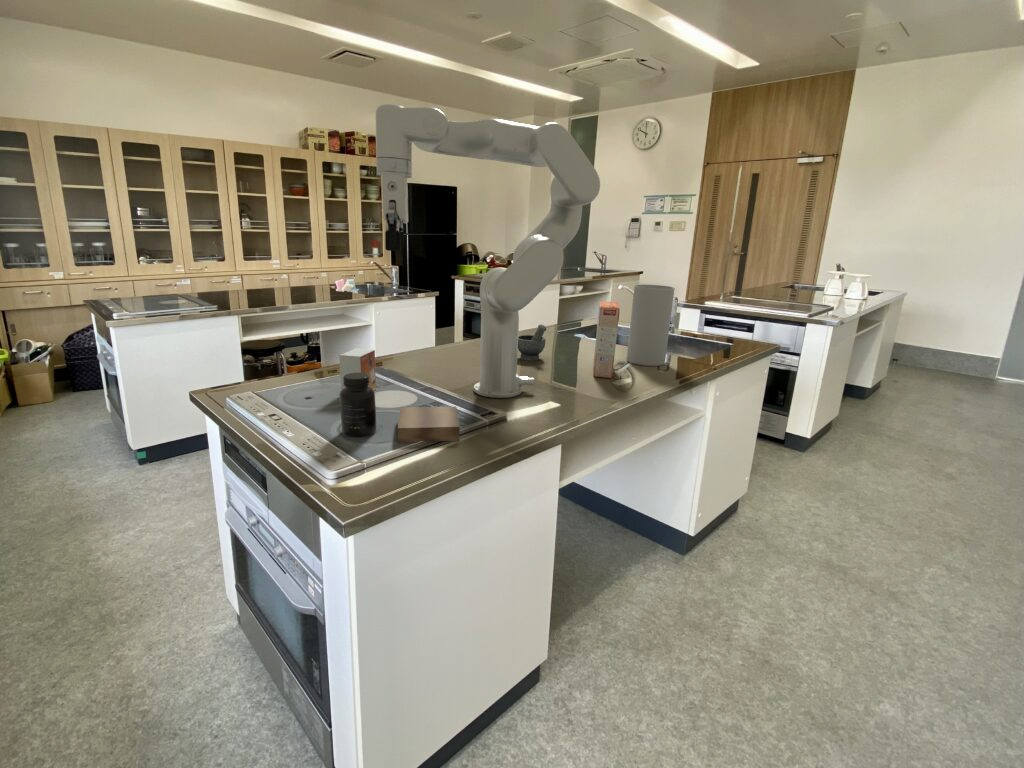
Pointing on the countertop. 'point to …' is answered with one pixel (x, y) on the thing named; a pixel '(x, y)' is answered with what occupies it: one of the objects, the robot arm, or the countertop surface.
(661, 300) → the cylinder vase
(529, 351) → the mortar and pestle
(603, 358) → the cracker box
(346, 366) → the small box
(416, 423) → the walnut base
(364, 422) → the supplement bottle
